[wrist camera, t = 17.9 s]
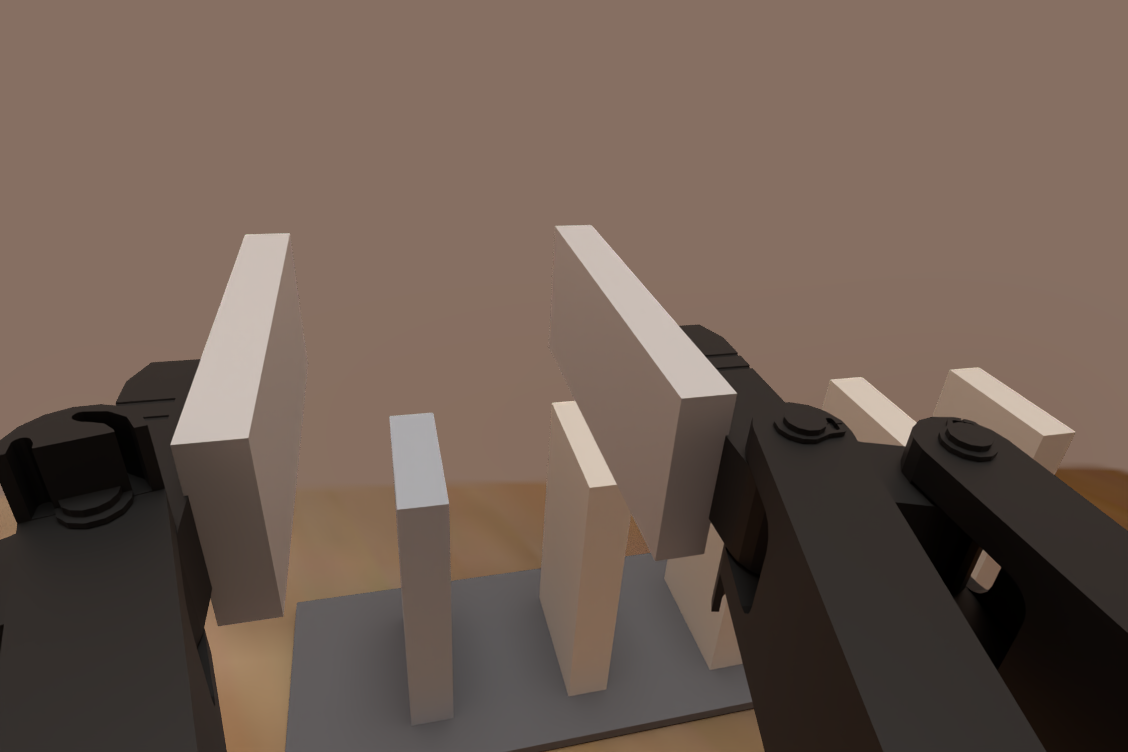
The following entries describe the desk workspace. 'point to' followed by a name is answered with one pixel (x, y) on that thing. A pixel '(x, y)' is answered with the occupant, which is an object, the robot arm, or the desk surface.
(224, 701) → the desk surface
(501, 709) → the runway mat
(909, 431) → the domino
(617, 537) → the domino
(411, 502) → the slate domino
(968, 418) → the domino
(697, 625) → the domino
